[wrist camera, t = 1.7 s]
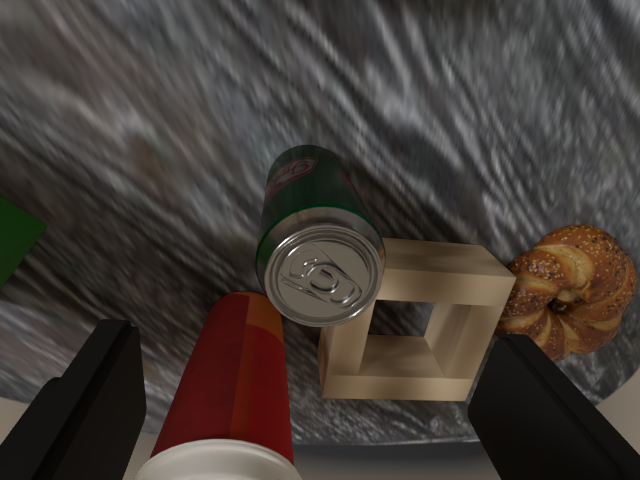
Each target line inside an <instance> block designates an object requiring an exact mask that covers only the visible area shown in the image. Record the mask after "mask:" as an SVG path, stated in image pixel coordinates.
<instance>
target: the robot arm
mask: <svg viewBox="0 0 640 480" xmlns="http://www.w3.org/2000/svg"><path fill="white" fill-rule="evenodd" d="M145 416H146V396H145V386H144V376H143V366H142V356H141V345H140V335H139V329H138V327H132V326H131V322H130V321H129V320H111V319H103V320H101V321H100V322H99V323H98V325H97V326H96V328H95V329H94V331H93V332H92V334H91V335H90V336H89V338H88V339H87V341H86V342H85V344H84V345H83V346H82V348H81V349H80V351H79V352H78V354H77V355H76V357H75V358H74V359H73V361H72V362H71V364H70V365H69V367H68V368H67V369H66V371H65V372H64V374H63V375H62V377H54V378H52V379H51V380H49V381H48V382H47V383H46V384H45V385H44V386H43V388H42V389H41V390H40V392H39V393H38V395H37V396H36V397H35V399H34V400H33V401H32V403H31V404H30V405H29V407H28V408H27V410H26V411H25V412H24V414H23V415H22V416H21V418H20V419H19V421H18V422H17V423H16V425H15V426H14V427H13V429H12V430H11V431H10V433H9V434H8V436H7V437H6V439H5V440H4V441H3V442H2V444H1V445H0V480H122V479H123V476H124V473H125V471H126V468H127V466H128V463H129V460H130V458H131V455H132V452H133V450H134V447H135V444H136V442H137V439H138V436H139V434H140V431H141V428H142V426H143V423H144V420H145ZM468 417H469V420H470V422H471V424H472V426H473V428H474V430H475V432H476V434H477V435H478V437H479V439H480V441H481V442H482V445H483V446H484V448H485V450H486V452H487V454H488V456H489V457H490V459H491V461H492V463H493V465H494V467H495V469H496V471H497V472H498V474H499V476H500V478H501V480H640V455H639V454H638V453H637V452H636V451H635V450H634V449H633V447H632V446H631V445H630V444H629V443H628V442H627V441H626V440H625V439H624V438H623V437H622V436H621V435H620V433H619V432H618V431H617V430H616V429H615V428H614V427H613V426H612V425H611V424H610V423H609V422H608V421H607V420H606V418H605V417H604V416H603V415H602V414H601V413H600V412H599V411H598V410H597V409H596V408H595V407H594V405H593V404H592V403H591V402H590V401H589V400H588V399H587V398H586V397H585V396H584V395H583V394H582V393H581V391H580V390H579V389H578V388H577V387H576V386H575V385H574V384H573V383H572V382H571V381H570V380H569V379H568V377H567V376H566V375H565V374H564V373H563V372H562V371H561V370H560V369H559V368H558V367H557V366H556V365H555V363H554V362H553V361H552V360H551V359H550V358H549V357H548V356H547V355H546V354H545V353H544V352H543V351H542V349H541V348H540V347H539V346H538V345H537V344H536V343H535V342H534V341H533V340H532V339H531V338H530V337H529V336H528V335H525V334H503V335H502V336H501V337H500V339H497V340H496V342H495V343H494V346H493V348H492V351H491V353H490V355H489V358H488V360H487V363H486V365H485V368H484V370H483V372H482V375H481V377H480V380H479V382H478V384H477V387H476V389H475V392H474V394H473V397H472V399H471V401H470V404H469V406H468Z"/></svg>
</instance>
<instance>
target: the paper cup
mask: <svg viewBox="0 0 640 480" xmlns="http://www.w3.org/2000/svg"><path fill="white" fill-rule="evenodd" d="M134 480H303V479H302V478H301V477H300V475H299V474H298V472H297V470H296V469H295V467H294V462H293V449H292V436H291V423H290V410H289V397H288V384H287V372H286V360H285V348H284V337H283V327H282V320H281V315H280V313H279V312H278V311H277V310H276V309H275V307H274V306H273V305H272V303H271V302H270V300H269V298H267V297H266V296H264V295H262V294H259V293H256V292H251V291H238V292H233V293H230V294H227V295H225V296H223V297H222V298H220V299H219V300H218V301H217V302H216V303H215V304H214V306H213V307H212V309H211V310H210V312H209V314H208V317H207V319H206V321H205V323H204V326H203V328H202V330H201V333H200V335H199V338H198V340H197V343H196V345H195V347H194V350H193V352H192V354H191V357H190V359H189V361H188V363H187V366H186V368H185V370H184V373H183V375H182V378H181V381H180V383H179V386H178V389H177V391H176V394H175V397H174V399H173V402H172V404H171V407H170V409H169V412H168V414H167V417H166V419H165V422H164V424H163V427H162V429H161V432H160V434H159V437H158V439H157V442H156V444H155V447H154V449H153V452H152V454H151V457H150V459H149V461H147V462H146V463H145V464H144V465H143V466H142V467H141V468H140V469H139V471H138V472H137V473H136V476H135V478H134Z"/></svg>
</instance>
